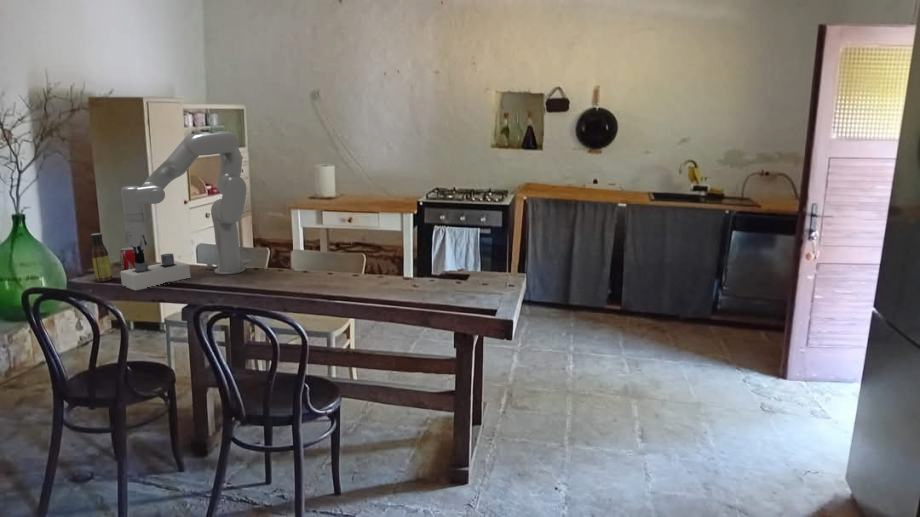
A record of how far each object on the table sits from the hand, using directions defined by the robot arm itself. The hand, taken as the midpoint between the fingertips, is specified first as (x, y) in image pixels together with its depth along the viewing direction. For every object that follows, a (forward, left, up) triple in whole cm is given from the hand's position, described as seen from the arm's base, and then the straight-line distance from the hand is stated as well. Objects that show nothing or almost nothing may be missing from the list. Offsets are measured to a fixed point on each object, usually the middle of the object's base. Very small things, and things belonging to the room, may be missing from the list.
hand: (140, 262), depth 268 cm
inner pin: (-11, 0, -5) cm, 12 cm away
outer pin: (0, 0, -6) cm, 6 cm away
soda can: (-4, -20, -10) cm, 23 cm away
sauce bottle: (+7, -21, -10) cm, 24 cm away
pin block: (-6, 0, -9) cm, 11 cm away
